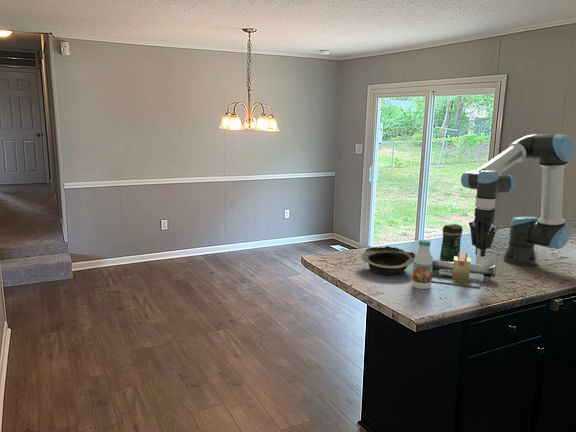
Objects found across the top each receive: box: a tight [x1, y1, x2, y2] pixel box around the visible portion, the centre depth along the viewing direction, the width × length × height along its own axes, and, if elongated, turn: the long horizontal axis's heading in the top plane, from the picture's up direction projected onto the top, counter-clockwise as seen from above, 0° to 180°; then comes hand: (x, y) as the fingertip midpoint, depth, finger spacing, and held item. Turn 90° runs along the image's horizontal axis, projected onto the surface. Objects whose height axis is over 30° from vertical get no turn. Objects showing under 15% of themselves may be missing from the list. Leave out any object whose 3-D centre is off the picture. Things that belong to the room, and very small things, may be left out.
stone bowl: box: [361, 245, 416, 276], centre depth 218 cm, size 25×25×9 cm
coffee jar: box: [439, 223, 463, 262], centre depth 236 cm, size 10×8×19 cm
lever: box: [458, 251, 468, 266], centre depth 204 cm, size 16×4×3 cm, turn 158°
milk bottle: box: [411, 239, 434, 290], centre depth 196 cm, size 8×8×20 cm
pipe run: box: [431, 256, 497, 289], centre depth 209 cm, size 32×22×8 cm
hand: (479, 263), depth 197 cm, fingers closed
